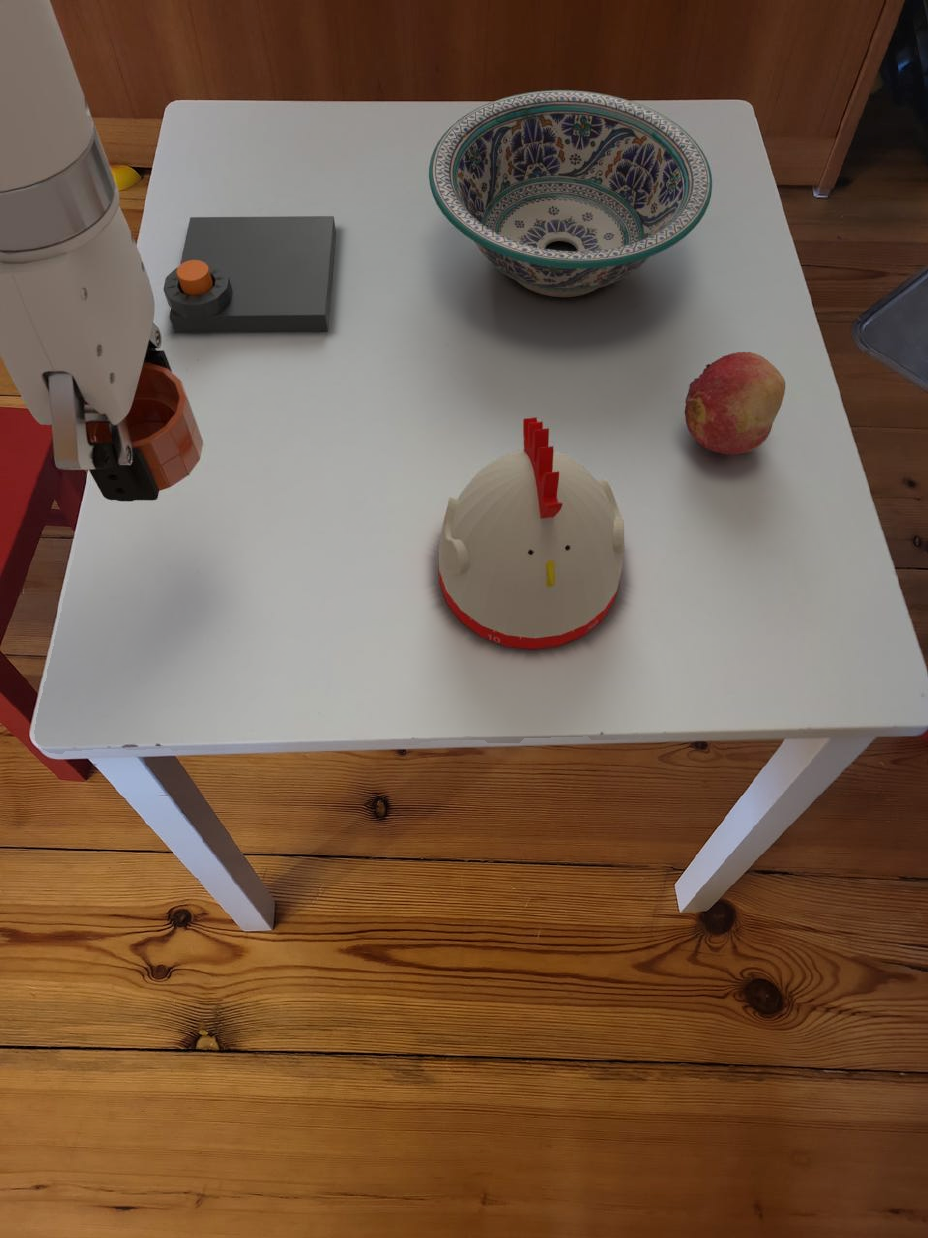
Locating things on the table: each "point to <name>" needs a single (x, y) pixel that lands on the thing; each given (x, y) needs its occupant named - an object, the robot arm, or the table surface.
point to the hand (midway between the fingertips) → (144, 445)
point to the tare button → (194, 278)
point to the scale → (257, 275)
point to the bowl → (569, 186)
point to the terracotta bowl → (160, 426)
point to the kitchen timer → (532, 548)
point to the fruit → (734, 403)
